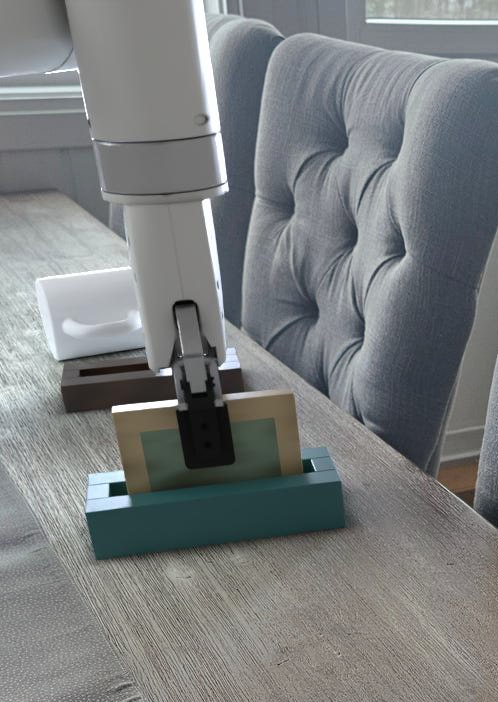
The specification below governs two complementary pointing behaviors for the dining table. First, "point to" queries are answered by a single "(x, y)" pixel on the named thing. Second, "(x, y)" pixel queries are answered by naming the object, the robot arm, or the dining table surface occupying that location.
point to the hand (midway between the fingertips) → (206, 440)
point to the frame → (247, 433)
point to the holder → (213, 510)
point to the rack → (131, 382)
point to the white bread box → (90, 313)
